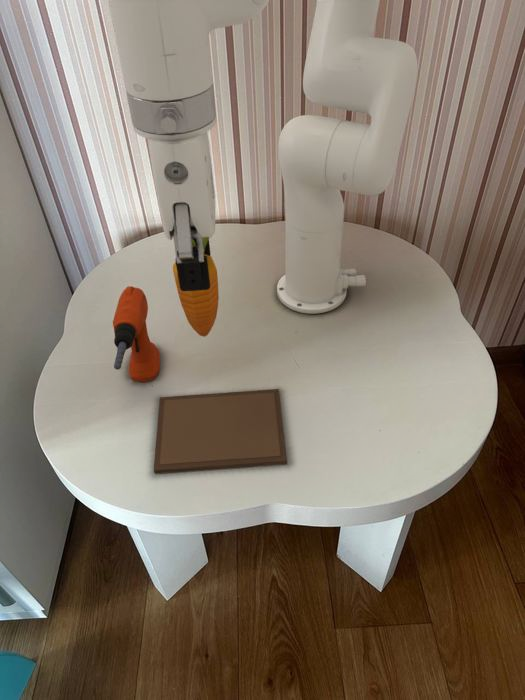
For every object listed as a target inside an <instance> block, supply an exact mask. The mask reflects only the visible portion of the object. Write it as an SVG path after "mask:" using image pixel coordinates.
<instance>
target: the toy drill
mask: <svg viewBox="0 0 525 700" xmlns="http://www.w3.org/2000/svg"><path fill="white" fill-rule="evenodd" d="M148 312H149V304H148V299H147V296H146V294H145V293H144V291H143V290H142V289H141V288H139V287H135V286H132V285H128V286H126V288H125V289H124V290H122V292H121V294H120V296H119V298H118V301H117V305H116V309H115V312H114V316H113V320H112V327H113V333H114V340H113V343H114V345H115V347H116V348H117V350H116V355H115V360H114V364H113V368H114V369H115V370H121V368H122V364H123V361H124V357H125V353H126V351H127V350H129V349H131V350H130V351H131V353H130V357H129V364H128V376H129V377H130V379H131V381H133V382H137V383H147V382H150V381H154V379H156V378H157V377H158V375H159V373H160V369H161V353H160V350H159V348H158V347H157V345H156V344H155V343H154V342H152V341H151V339H150V336H149V332H148V328H147V318H148Z"/></svg>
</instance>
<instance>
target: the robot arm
mask: <svg viewBox="0 0 525 700" xmlns="http://www.w3.org/2000/svg"><path fill="white" fill-rule="evenodd" d="M107 1H108V5H109V13H110V16H111V22H112V27H113V31H114V36H115V42H116V46H117V47H116V48H117V51H118V58H119V62H120V67H121V73H122V77H123V82H124V88H125V93H126V98H127V103H128V108H129V113H130V119H131V123H132V129H133V131H134V133H136V134H137V135H138V136H141V137H142V138H145V139H147V144H148V153H149V157H150V165H151V171H152V177H153V182H154V190H155V195H156V200H157V205H158V211H159V216H160V220H161V225H162V230H163V233H164V236H165V237H166V238H167V239H168V240H170V241H173V244H174V252H175V259H174V260H175V262H176V267H177V273H178V279H179V284H180V289H181V290H182V291H195V290H208V289H210V278H209V270H208V262H207V256H204V254H206V255H209V256H211V246H210V239H212V238H213V236H214V235H215V233H216V216H217V215H216V190H215V185H214V184H215V183H214V175H213V166H212V157H211V149H210V141H209V135H208V132H209V131H211V129H213V127H214V126H216V124H217V113H216V112H217V111H216V99H215V90H214V80H213V68H212V58H211V57H212V56H211V47H210V33H211V31H213V30H217V29H222V28H227V27H232V26H238V25H241V24H245V23H247V22H249V21H251V20H253V19H254V18H255V17H257V16H258V15H260V13H262V11H263V10H264V9H265V8H266V7H267V5H268V3H269V2H270V0H107ZM380 1H381V0H316V4H315V5H316V6H315V10H314V17H313V20H312V21H313V22H312V26H311V30H310V31H311V32H310V37H309V42H308V45H307V46H308V48H307V52H306V57H305V63H304V69H303V76H302V89H303V90H302V91H303V93H304V95H305V97H306V98H307V99H308V100H309V102H312V103H314V104H315V105H318V106H321V107H326V108H327V107H328V108H331V109H338V110H343V111H350V112H355V113H360V114H367V115H369V116H370V123H369V124H368V123H363V122H357V121H351V120H346V119H342V118H335V117H330V116H322V115H318V114H317V115H315V114H304V115H299V116H295V117H293V118H292V119H290V120H289V121H288V122H287V123H286V124H284V126H283V128H282V130H281V132H280V134H279V138H278V144H277V155H278V157H277V158H278V163H279V168H280V172H281V177H282V182H283V190H284V218H285V219H284V223H285V224H284V225H285V226H284V231H285V232H284V233H285V235H284V236H285V237H284V239H285V240H284V242H285V243H284V244H285V245H284V247H285V248H284V249H285V254H284V255H285V256H284V257H285V261H284V262H285V263H284V264H285V266H284V267H285V274H284V275H282V276H281V277H280V278H279V280H278V282H277V285H276V294H277V298H278V299H279V301H280V302H281V304H282V305H284V306H285V307H286V308H288V309H290V310H292V311H294V312H298V313H301V314H308V315H311V314H316V315H317V314H322V313H327V312H330V311H333V310H335V309H336V308H338V307H339V306H340V305H341V304H343V302H344V301H345V299H346V298H347V290H348V289H349V287H366V285H367V284H366V283H367V278H366V275H365V274H359V275H357V269H356V268H347V269H343V268H341V258H342V257H341V256H342V246H343V245H342V244H343V230H344V221H345V220H344V219H345V204H344V198H343V196H342V193H341V191H343V192H347V193H352V194H356V195H357V194H358V195H362V196H363V195H364V196H369V197H371V196H378V195H380V194H382V193H384V192H385V191H386V190H387V188H388V187H389V185H390V184H391V181H392V179H393V176H394V173H395V170H396V167H397V163H398V159H399V155H400V151H401V147H402V143H403V139H404V135H405V130H406V127H407V122H408V119H409V115H410V111H411V107H412V104H413V100H414V96H415V95H414V94H415V89H416V85H417V80H418V67H419V66H418V58H417V54H416V52H415V50H414V48H413V47H412V46H411V45H410V44H409V43H406V42H404V41H401V40H397V39H392V38H391V39H390V38H382V37H374V30H375V26H376V21H377V15H378V11H379V7H380ZM202 237H209V240H208V242H207V244H206V246H205V251H203V241H202ZM192 239H193V240H194V241H195V244H196V247H193V246H192Z"/></svg>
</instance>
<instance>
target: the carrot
mask: <svg viewBox="0 0 525 700" xmlns="http://www.w3.org/2000/svg"><path fill="white" fill-rule="evenodd" d="M208 240H209V241H210V238H209V237H202V241H203V251H205V246H206V244H207V242H208ZM192 246H193V247H196V244H195V241H194V240H193V239H192ZM204 256H207V262H208V270H209V278H210V289H208V290H195V291H182V290H181V289H180V284H179V279H178V273H177V267H176V261H175V262H174V263H173V264H172V272H173V277H174V281H175V282H174V283H175V287H176V290H177V293H178V298H179V301H180V304H181V307H182V310H183V312H184V316H185V317H186V320H187V322H188V324H189V325H190V327H191V329H193V330H194V331H195V333H196V334H197V335H199V336H200V337H203V338H205V337H208V335H209V334H210V332H211V330H212V328H214V325H215V322H216V319H217V314H218V308H219V299H220V296H219V280H218V279H219V278H218V270H217V267H216V264H215V262H214V260H213V257H212V256H211V255H210V256H209V255H206V254H204Z"/></svg>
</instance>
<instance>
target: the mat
mask: <svg viewBox="0 0 525 700" xmlns="http://www.w3.org/2000/svg"><path fill="white" fill-rule="evenodd" d="M158 402H159V403H158V414H157V426H156V438H155V449H154V460H153V473H154V474H165V473H179V472H181V473H182V472H193V471H207V470H208V471H209V470H220V469H221V470H223V469H234V468H235V469H236V468H247V467H248V468H249V467H261V466H263V467H264V466H275V465H276V466H277V465H287V464H288V458H287V449H286V441H285V433H284V424H283V415H282V407H281V406H282V405H281V396H280V389H279V388H273V389H271V388H270V389H258V390H245V391H232V392H228V391H227V392H215V393H202V394H201V393H200V394H188V395H185V394H184V395H173V396H172V395H171V396H160V397H159V401H158Z"/></svg>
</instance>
